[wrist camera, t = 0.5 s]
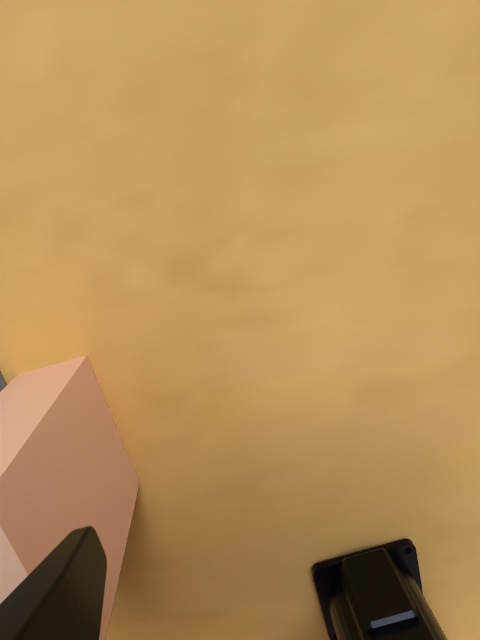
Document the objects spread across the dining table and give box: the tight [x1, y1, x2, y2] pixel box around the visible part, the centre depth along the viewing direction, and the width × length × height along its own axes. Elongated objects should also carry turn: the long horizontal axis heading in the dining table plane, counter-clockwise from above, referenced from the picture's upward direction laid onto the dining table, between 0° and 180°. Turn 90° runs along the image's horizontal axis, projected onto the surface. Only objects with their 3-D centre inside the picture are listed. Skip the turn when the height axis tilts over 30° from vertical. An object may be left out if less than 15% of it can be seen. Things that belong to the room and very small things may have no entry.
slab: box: [0, 355, 139, 640], centre depth 17 cm, size 8×4×10 cm, turn 14°
